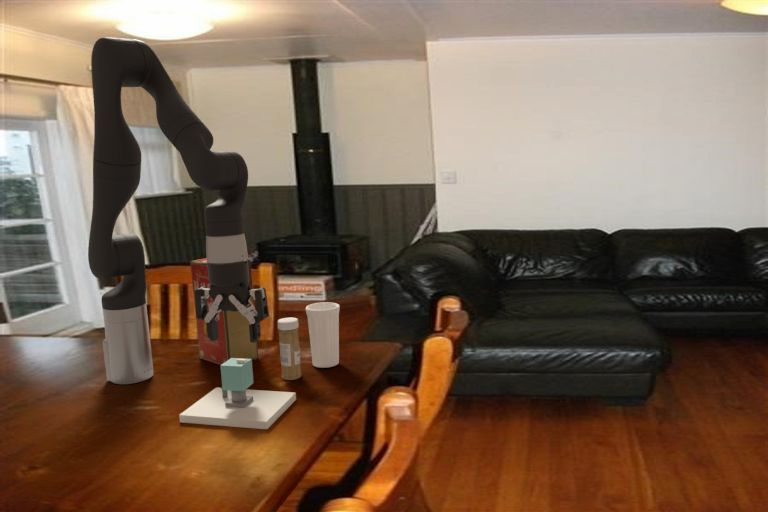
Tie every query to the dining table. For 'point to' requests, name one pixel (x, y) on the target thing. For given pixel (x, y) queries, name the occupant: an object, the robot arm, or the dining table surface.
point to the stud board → (239, 408)
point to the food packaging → (222, 325)
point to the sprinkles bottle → (289, 348)
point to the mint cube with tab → (237, 374)
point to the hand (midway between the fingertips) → (234, 340)
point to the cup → (324, 333)
